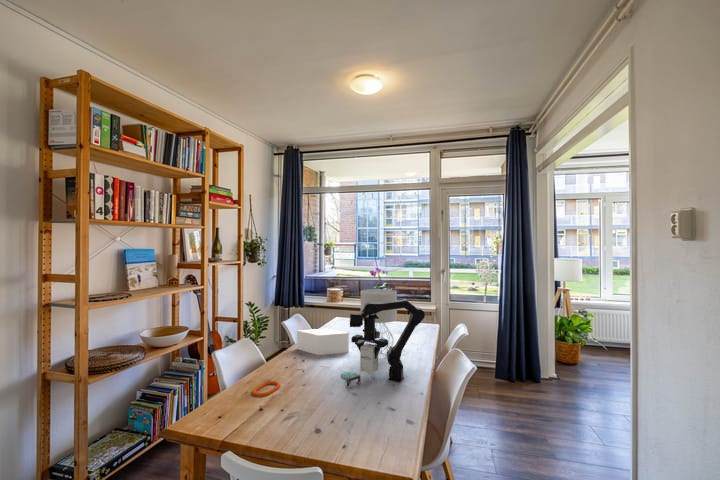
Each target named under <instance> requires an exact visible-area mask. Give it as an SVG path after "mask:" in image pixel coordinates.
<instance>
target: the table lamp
mask: <svg viewBox="0 0 720 480" xmlns="http://www.w3.org/2000/svg"><path fill="white" fill-rule="evenodd" d="M397 294H398V292H397V291H396V290H394V289H387V288H386V289H385V288H384V289H383V288H382V289H381V288H380V289H379V288H372V289H370V288H369V289H362V290H361V291H360V313H361V312H362V310H363V309H364V305H365V304H366V303H367V302H379V303H383V302H391V301H398V295H397ZM397 314H398V310H397V309H392V310H384V311H380V312H378V313H376V315H377V316H378V317H379V319H375V327H377V326H378V324H379V326H380V328H379V330H377V331H378V332H380V338H377V340H379V339H381V338H382V339H386V338H384V337H383V336H384V334H386V337H387V338H388V339H387V340H388V345H387V346H385V347H384V351H385V352H384V353H383V348H381V349H380V351H379V354H378V357H379V355H380V354H381V355H385V356H384V357H383V358H381V357H382V356H380V358H379V360H385V359H387V351H388V350H389V348H390V346H391V347H394V346H393V345H394V336H393V335H392V334H393V333H391V330H390V329H389V328H388V326H387V325H386V323H392V322H395V321H397V320H398V315H397ZM372 315H374V314H372ZM363 322H364V319H363ZM382 330H384V332H383V331H382ZM389 336H390V337H391V339H392V341H391V342H390V337H389ZM368 344H371V343H369V342H368ZM390 344H391V345H390ZM374 345H376V344H375V343H374Z"/></svg>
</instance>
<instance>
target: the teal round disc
mask: <svg viewBox="0 0 720 480" xmlns="http://www.w3.org/2000/svg"><path fill="white" fill-rule="evenodd" d="M347 374H350V377H352V376H355V375H358V373H356V372H355V371H345V372H342V373H340V378H341V379H343V380H346V379H347Z"/></svg>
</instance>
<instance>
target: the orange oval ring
mask: <svg viewBox="0 0 720 480" xmlns="http://www.w3.org/2000/svg"><path fill="white" fill-rule="evenodd" d="M269 385H274V386H275V387H273V388H271V389H270V390H268V391H265V392H258V391H259V390H261V389H263V388H264V387H266V386H269ZM280 388H281V383H280V382H278V381H275V380H269V381H265V382H263V383H260V384H259V385H258V386H256V387H255V388H253V390H252V391H251V395H252V396H254V397H259V398H262V397H267V396H270V395H272V394H273V393H275V392H276V391H277V390H279V389H280Z"/></svg>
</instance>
